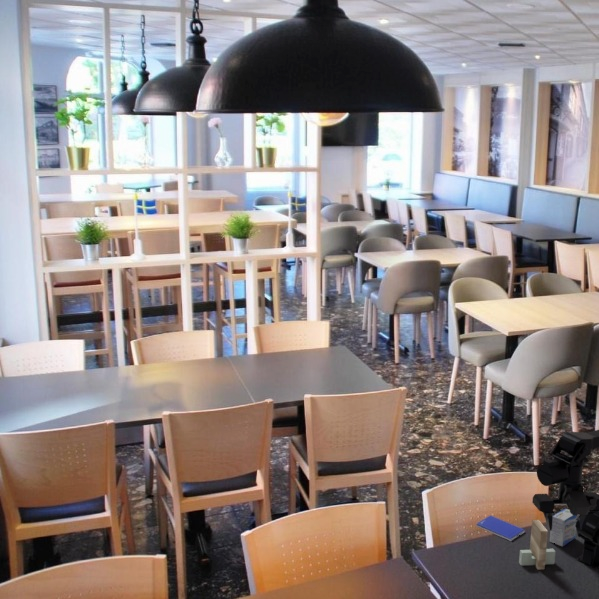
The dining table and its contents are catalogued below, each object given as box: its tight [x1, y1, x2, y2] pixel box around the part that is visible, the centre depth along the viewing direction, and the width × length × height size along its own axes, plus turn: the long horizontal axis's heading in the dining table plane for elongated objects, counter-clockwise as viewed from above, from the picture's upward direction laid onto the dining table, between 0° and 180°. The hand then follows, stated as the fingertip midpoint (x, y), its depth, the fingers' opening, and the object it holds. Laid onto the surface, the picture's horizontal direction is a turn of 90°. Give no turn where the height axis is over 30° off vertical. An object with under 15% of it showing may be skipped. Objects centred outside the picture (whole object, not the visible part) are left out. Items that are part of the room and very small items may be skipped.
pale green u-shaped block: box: [518, 548, 556, 566], centre depth 229 cm, size 10×2×4 cm, turn 96°
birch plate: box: [529, 519, 549, 570], centre depth 228 cm, size 2×6×12 cm, turn 6°
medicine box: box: [549, 508, 578, 547], centre depth 242 cm, size 8×4×9 cm, turn 132°
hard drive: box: [476, 515, 526, 542], centre depth 249 cm, size 2×8×12 cm
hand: (565, 529), depth 223 cm, fingers open, 9 cm apart
